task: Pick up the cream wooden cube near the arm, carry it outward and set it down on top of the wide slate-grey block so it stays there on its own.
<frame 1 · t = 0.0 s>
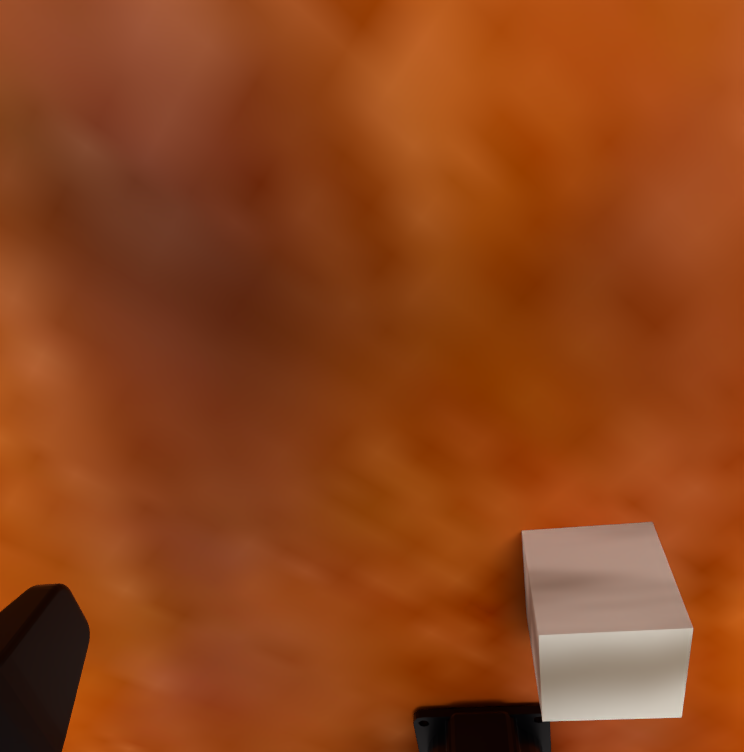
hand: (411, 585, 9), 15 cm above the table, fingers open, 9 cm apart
cream cube: (585, 569, 29), on the table
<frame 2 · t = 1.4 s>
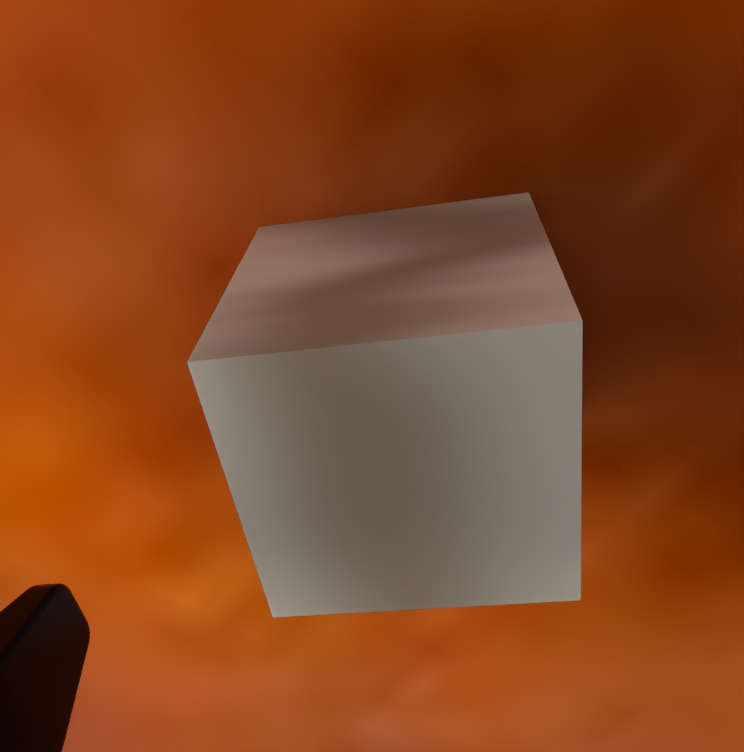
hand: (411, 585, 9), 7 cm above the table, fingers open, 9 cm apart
cream cube: (407, 327, 14), on the table
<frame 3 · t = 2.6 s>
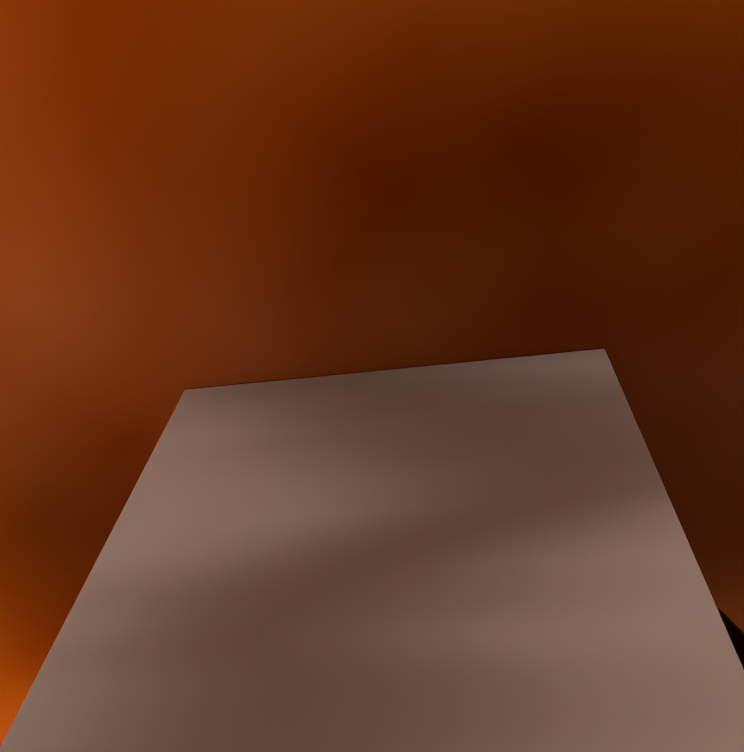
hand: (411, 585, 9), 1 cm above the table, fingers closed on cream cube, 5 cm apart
cream cube: (412, 524, 10), on the table, touching gripper
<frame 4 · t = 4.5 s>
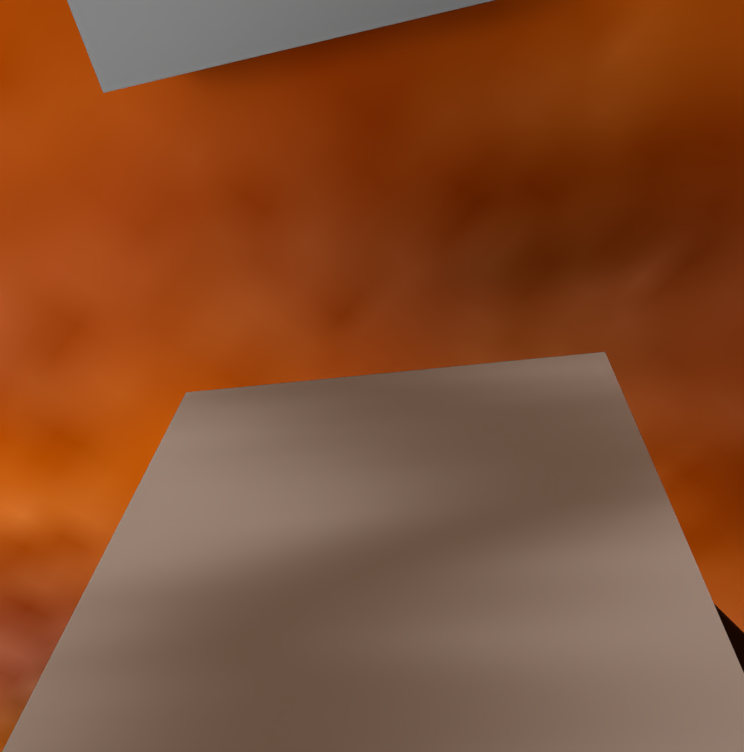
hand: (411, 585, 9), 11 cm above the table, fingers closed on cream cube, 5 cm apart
cream cube: (412, 527, 10), point 10 cm above the table, touching gripper
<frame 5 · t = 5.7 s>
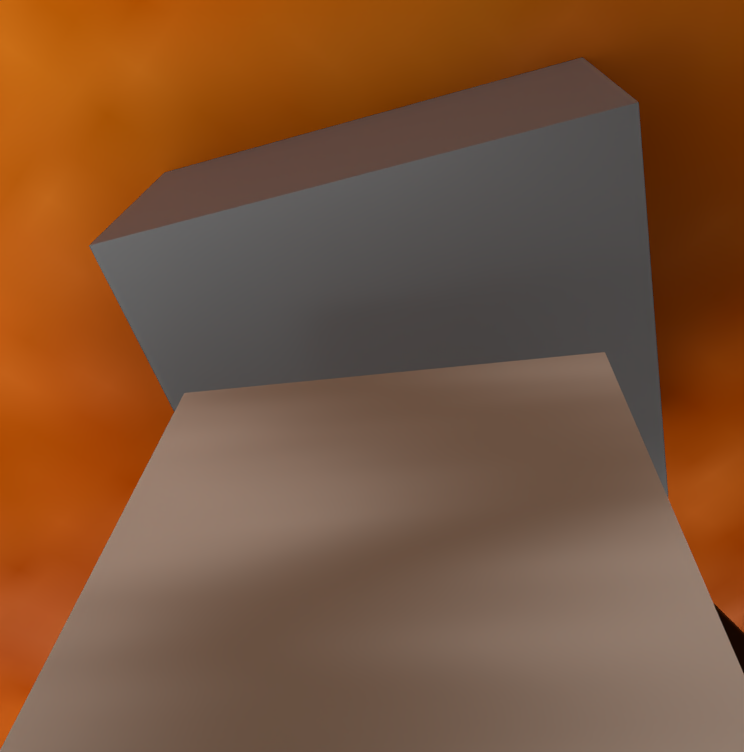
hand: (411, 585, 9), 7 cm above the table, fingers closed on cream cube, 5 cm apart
slate base block: (412, 301, 15), on the table
cream cube: (411, 528, 10), point 6 cm above the table, touching gripper
when the fingers open (6 cm above the table, at t = 6.6 s): cream cube drops 2 cm, resting on slate base block.
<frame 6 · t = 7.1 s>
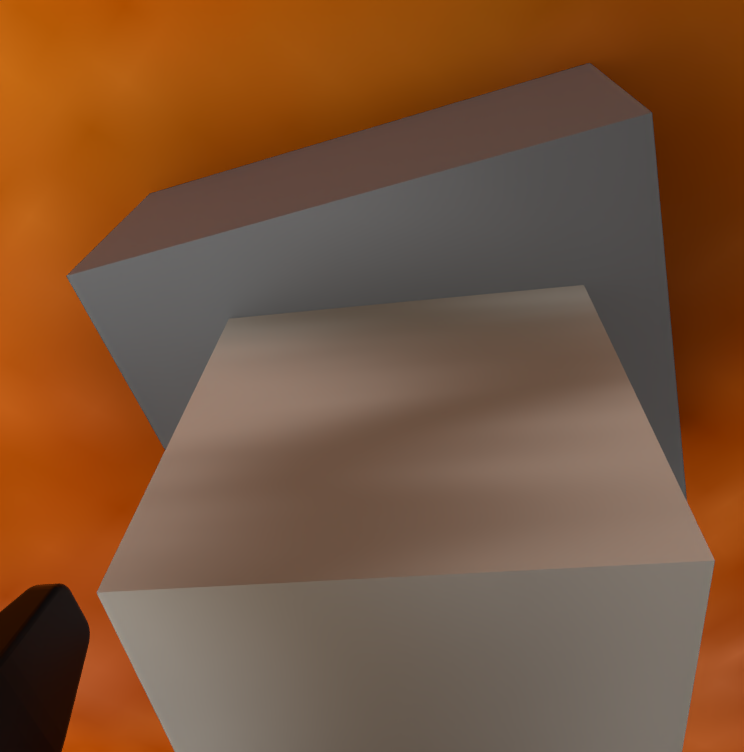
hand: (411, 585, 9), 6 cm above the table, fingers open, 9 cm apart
slate base block: (414, 320, 15), on the table, touching cream cube
cream cube: (418, 443, 11), point 4 cm above the table, touching slate base block
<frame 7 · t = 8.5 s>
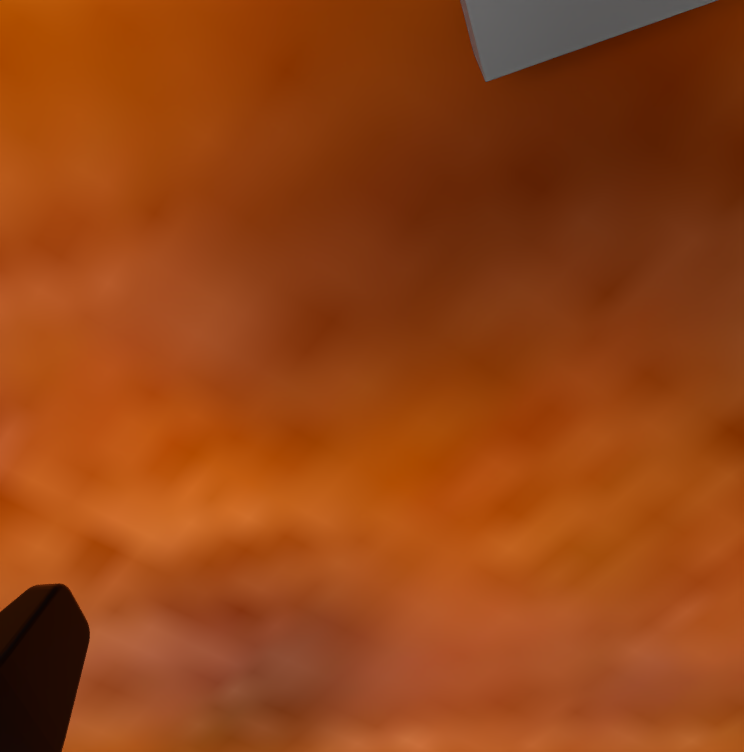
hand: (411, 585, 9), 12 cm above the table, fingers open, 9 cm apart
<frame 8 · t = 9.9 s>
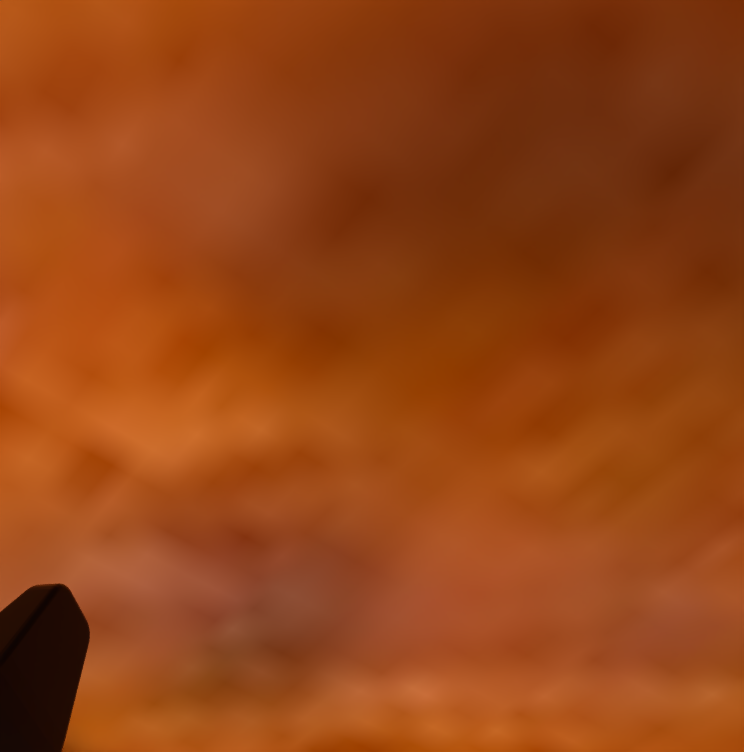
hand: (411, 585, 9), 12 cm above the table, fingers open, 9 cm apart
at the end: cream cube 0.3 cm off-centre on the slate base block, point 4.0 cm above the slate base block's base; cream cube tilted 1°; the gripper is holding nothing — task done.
